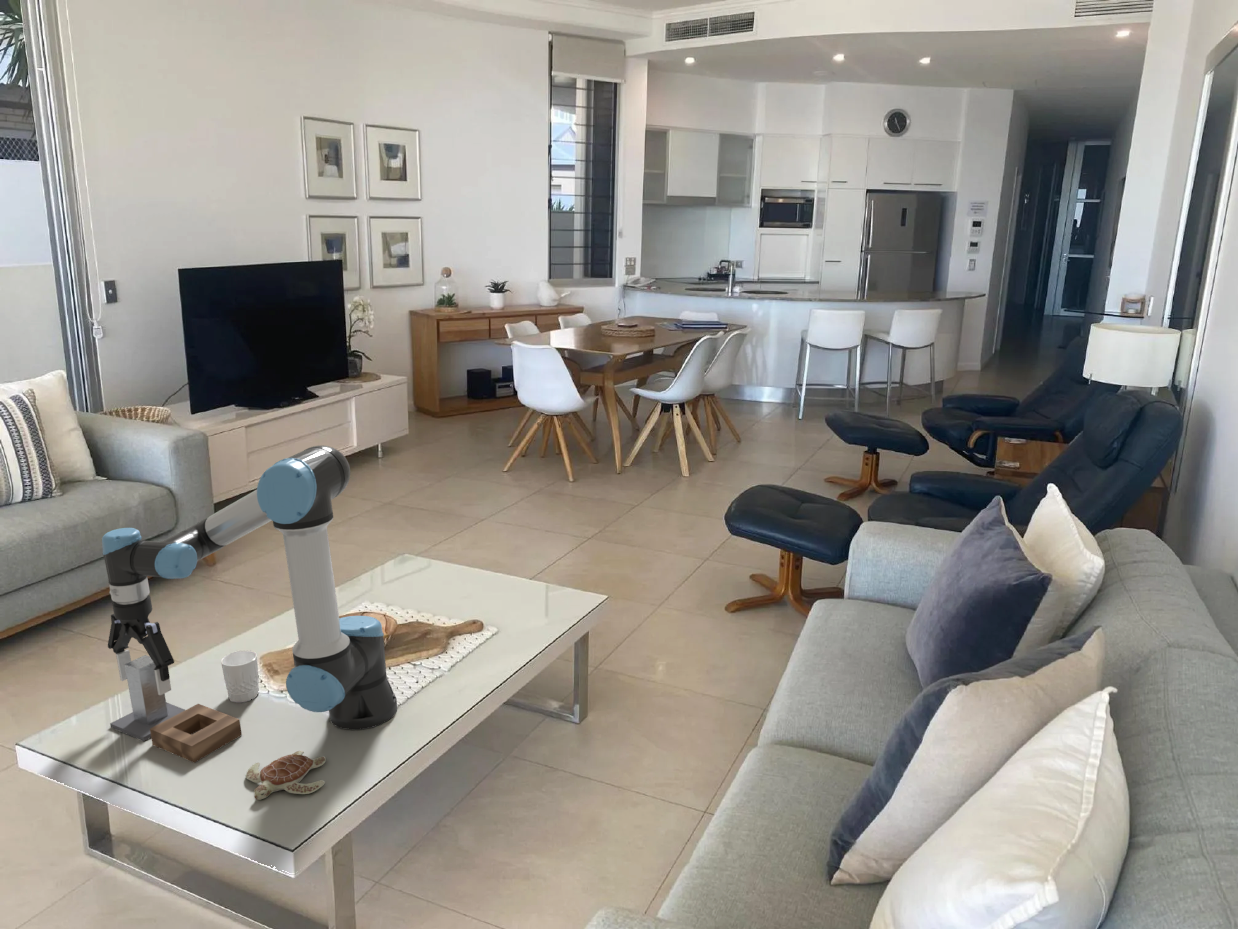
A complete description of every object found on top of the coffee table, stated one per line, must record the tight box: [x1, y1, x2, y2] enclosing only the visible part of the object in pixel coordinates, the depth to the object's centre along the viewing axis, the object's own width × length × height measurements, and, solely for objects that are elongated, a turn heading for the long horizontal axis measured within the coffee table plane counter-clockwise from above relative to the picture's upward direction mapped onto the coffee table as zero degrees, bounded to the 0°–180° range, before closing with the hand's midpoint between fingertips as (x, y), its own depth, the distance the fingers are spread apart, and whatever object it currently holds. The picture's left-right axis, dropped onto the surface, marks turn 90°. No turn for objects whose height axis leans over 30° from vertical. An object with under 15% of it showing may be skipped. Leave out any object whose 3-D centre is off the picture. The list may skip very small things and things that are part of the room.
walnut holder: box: [150, 703, 243, 764], centre depth 204 cm, size 14×12×4 cm
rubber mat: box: [109, 701, 186, 742], centre depth 212 cm, size 12×12×1 cm
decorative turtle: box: [245, 750, 327, 801], centre depth 189 cm, size 18×17×5 cm
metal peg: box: [125, 654, 168, 726], centre depth 210 cm, size 5×5×14 cm
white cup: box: [220, 650, 260, 704], centre depth 221 cm, size 8×8×10 cm
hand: (145, 685), depth 209 cm, fingers open, 13 cm apart
